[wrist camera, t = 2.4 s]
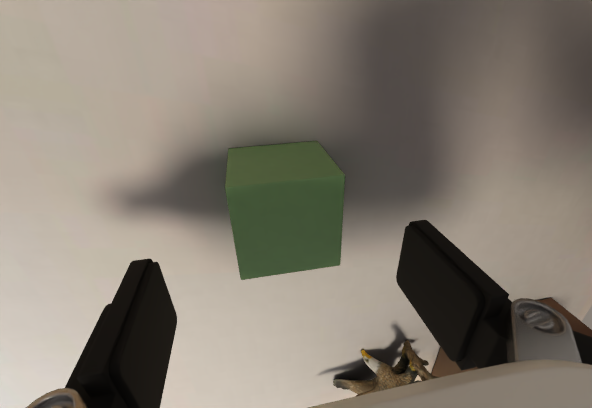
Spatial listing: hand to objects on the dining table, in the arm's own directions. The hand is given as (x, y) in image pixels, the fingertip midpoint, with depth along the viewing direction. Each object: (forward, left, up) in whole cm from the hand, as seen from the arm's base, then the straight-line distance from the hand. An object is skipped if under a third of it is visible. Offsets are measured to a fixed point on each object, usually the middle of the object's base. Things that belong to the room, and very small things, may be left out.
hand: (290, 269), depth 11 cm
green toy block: (0, 0, -7) cm, 7 cm away
